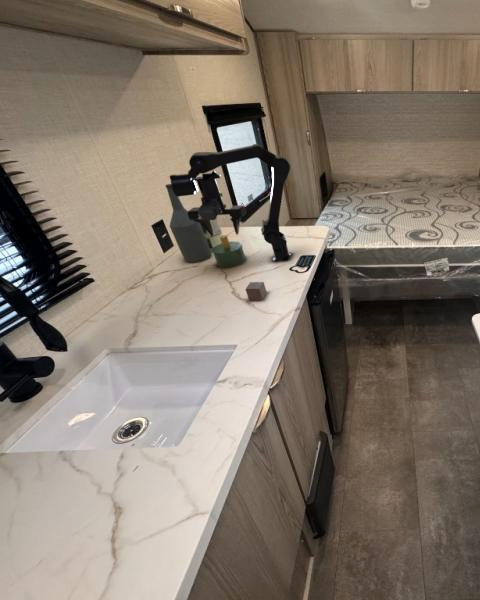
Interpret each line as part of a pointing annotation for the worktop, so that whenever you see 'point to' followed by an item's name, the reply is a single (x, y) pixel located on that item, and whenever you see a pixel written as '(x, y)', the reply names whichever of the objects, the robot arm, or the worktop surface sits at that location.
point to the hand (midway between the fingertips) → (225, 234)
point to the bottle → (187, 232)
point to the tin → (230, 258)
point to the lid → (226, 246)
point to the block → (256, 291)
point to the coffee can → (217, 233)
